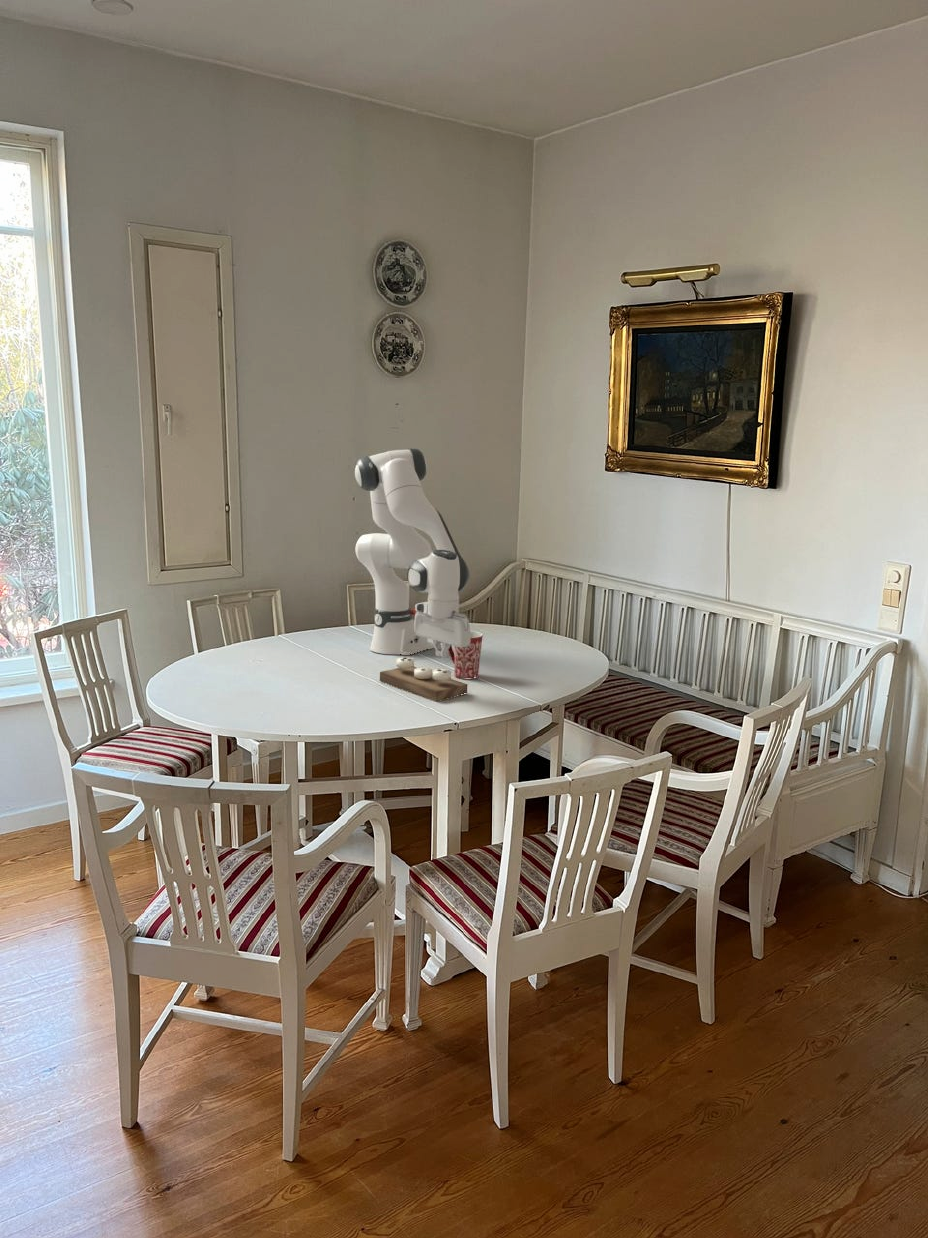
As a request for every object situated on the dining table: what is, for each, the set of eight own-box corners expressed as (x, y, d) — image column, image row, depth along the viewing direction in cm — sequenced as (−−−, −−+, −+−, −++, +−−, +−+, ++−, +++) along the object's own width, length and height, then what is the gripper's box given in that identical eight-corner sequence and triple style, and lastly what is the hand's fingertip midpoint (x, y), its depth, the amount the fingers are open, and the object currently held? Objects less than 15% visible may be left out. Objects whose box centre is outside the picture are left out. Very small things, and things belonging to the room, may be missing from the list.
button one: (423, 673, 278) (424, 666, 278) (435, 677, 275) (435, 669, 274) (410, 676, 275) (410, 668, 274) (422, 680, 271) (422, 672, 271)
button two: (442, 674, 272) (442, 667, 272) (454, 678, 269) (454, 671, 268) (428, 677, 269) (429, 670, 268) (441, 681, 265) (441, 674, 265)
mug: (487, 677, 289) (489, 634, 286) (466, 682, 283) (468, 638, 280) (458, 668, 298) (460, 626, 295) (437, 673, 292) (439, 630, 289)
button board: (410, 675, 288) (410, 665, 288) (467, 694, 271) (467, 684, 270) (379, 681, 280) (379, 671, 279) (436, 701, 262) (436, 691, 262)
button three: (406, 662, 283) (406, 655, 283) (417, 666, 280) (417, 659, 279) (392, 665, 280) (393, 658, 279) (404, 669, 276) (404, 662, 276)
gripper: (476, 613, 259) (474, 662, 262) (427, 601, 273) (426, 648, 276) (460, 616, 255) (458, 665, 257) (411, 603, 269) (409, 651, 272)
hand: (441, 656), depth 267 cm, fingers closed
